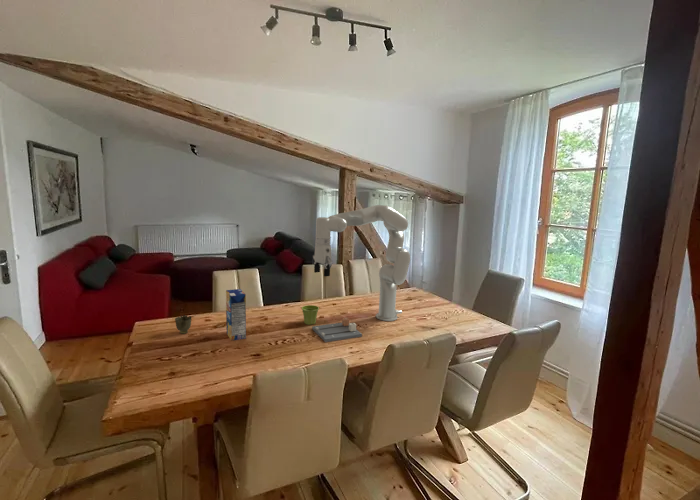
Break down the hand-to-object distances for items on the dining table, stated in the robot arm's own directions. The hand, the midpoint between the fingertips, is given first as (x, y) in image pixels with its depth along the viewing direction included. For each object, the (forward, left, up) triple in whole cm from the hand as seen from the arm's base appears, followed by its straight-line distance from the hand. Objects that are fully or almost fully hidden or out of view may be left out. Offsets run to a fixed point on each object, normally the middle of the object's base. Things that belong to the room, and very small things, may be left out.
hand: (321, 274), depth 192 cm
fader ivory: (-12, +13, -27) cm, 33 cm away
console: (-5, +9, -29) cm, 31 cm away
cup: (+66, -17, -30) cm, 74 cm away
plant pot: (+3, -9, -30) cm, 31 cm away
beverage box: (+43, -5, -30) cm, 52 cm away
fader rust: (-12, +5, -27) cm, 31 cm away
